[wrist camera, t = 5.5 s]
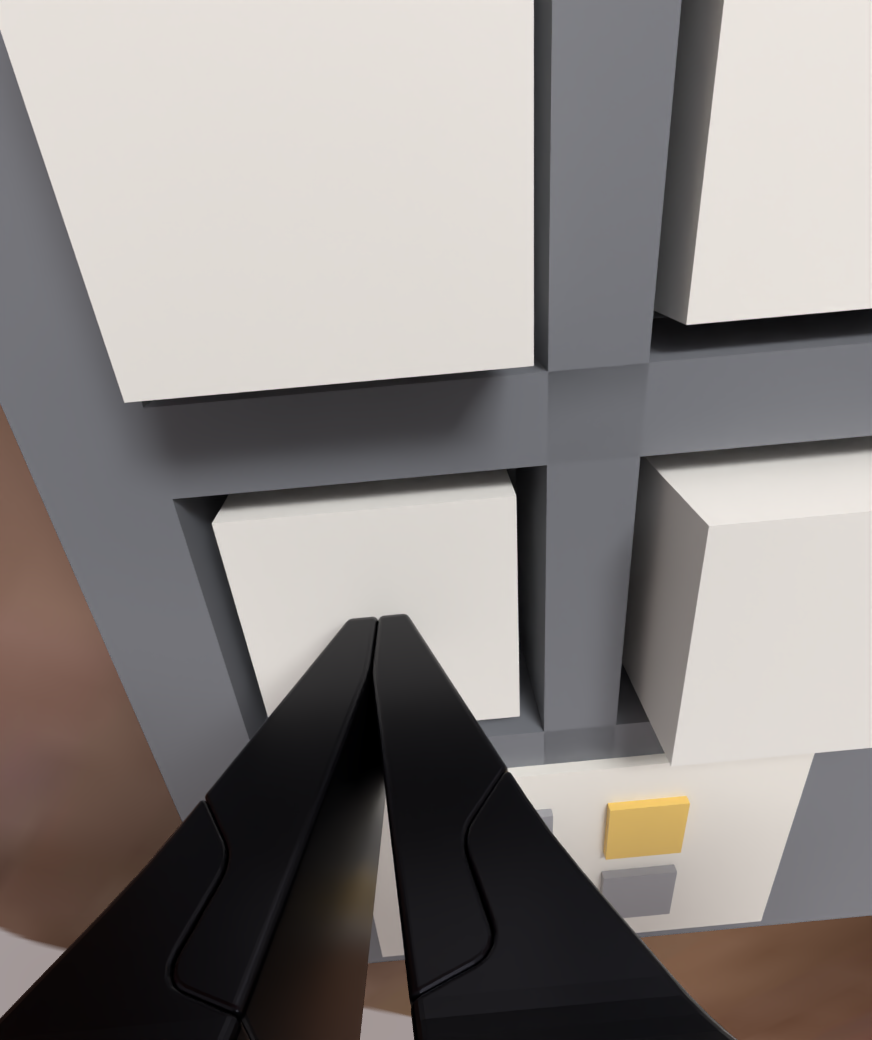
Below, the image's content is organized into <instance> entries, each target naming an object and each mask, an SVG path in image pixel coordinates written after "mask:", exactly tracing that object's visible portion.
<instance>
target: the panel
mask: <svg viewBox="0 0 872 1040" xmlns="http://www.w3.org/2000/svg"><path fill="white" fill-rule="evenodd" d="M681 2H682V0H534V366H528V367H517V368H506V369H494V370H483V371H472V372H461V373H450V374H439V375H428V376H417V377H405V378H394V379H383V380H372V381H361V382H350V383H339V384H327V385H316V386H305V387H294V388H283V389H272V390H261V391H250V392H238V393H227V394H216V395H205V396H194V397H183V398H172V399H161V400H149V401H138V402H127V403H124V400H123V397H122V394H121V391H120V388H119V385H118V382H117V379H116V376H115V373H114V370H113V367H112V364H111V361H110V358H109V355H108V352H107V349H106V346H105V343H104V340H103V337H102V334H101V331H100V328H99V325H98V322H97V319H96V316H95V313H94V310H93V307H92V304H91V301H90V298H89V295H88V292H87V289H86V286H85V283H84V280H83V277H82V274H81V271H80V268H79V265H78V262H77V259H76V256H75V253H74V250H73V247H72V244H71V241H70V238H69V235H68V232H67V229H66V226H65V223H64V220H63V217H62V214H61V211H60V208H59V205H58V202H57V199H56V196H55V193H54V190H53V187H52V184H51V181H50V178H49V175H48V172H47V169H46V166H45V163H44V160H43V157H42V154H41V151H40V148H39V145H38V142H37V139H36V136H35V133H34V130H33V127H32V124H31V121H30V118H29V115H28V112H27V109H26V106H25V103H24V100H23V97H22V94H21V91H20V88H19V85H18V82H17V79H16V76H15V73H14V70H13V67H12V64H11V61H10V58H9V55H8V52H7V49H6V46H5V43H4V40H3V37H2V34H1V31H0V404H1V406H2V408H3V411H4V413H5V415H6V418H7V420H8V422H9V424H10V427H11V429H12V431H13V434H14V436H15V438H16V441H17V443H18V445H19V447H20V450H21V452H22V454H23V457H24V459H25V461H26V464H27V466H28V468H29V470H30V473H31V475H32V477H33V480H34V482H35V484H36V487H37V489H38V491H39V493H40V496H41V498H42V500H43V503H44V505H45V507H46V510H47V512H48V514H49V516H50V519H51V521H52V523H53V526H54V528H55V530H56V533H57V535H58V537H59V539H60V542H61V544H62V546H63V549H64V551H65V553H66V556H67V558H68V560H69V562H70V565H71V567H72V569H73V572H74V574H75V576H76V579H77V581H78V583H79V585H80V588H81V590H82V592H83V595H84V597H85V599H86V602H87V604H88V606H89V608H90V611H91V613H92V615H93V618H94V620H95V622H96V625H97V627H98V629H99V631H100V634H101V636H102V638H103V641H104V643H105V645H106V648H107V650H108V652H109V654H110V657H111V659H112V661H113V664H114V666H115V668H116V671H117V673H118V675H119V677H120V680H121V682H122V684H123V687H124V689H125V691H126V694H127V696H128V698H129V700H130V703H131V705H132V707H133V710H134V712H135V714H136V717H137V719H138V721H139V723H140V726H141V728H142V730H143V733H144V735H145V737H146V740H147V742H148V744H149V746H150V749H151V751H152V753H153V756H154V758H155V760H156V763H157V765H158V767H159V769H160V772H161V774H162V776H163V779H164V781H165V783H166V786H167V788H168V790H169V792H170V795H171V797H172V799H173V802H174V804H175V806H176V809H177V811H178V813H179V815H180V818H181V820H182V822H183V821H184V820H185V819H186V818H187V816H188V815H189V814H190V813H191V811H192V810H193V809H194V808H195V806H196V805H197V804H198V803H199V802H200V801H201V800H205V795H206V793H207V792H208V791H209V790H210V788H211V787H212V786H213V785H214V784H215V782H216V781H217V780H218V779H219V777H220V776H221V775H222V774H223V773H224V771H225V770H226V769H227V768H228V766H229V765H230V764H231V763H232V761H233V760H234V759H235V758H236V757H237V755H238V754H239V753H240V752H241V750H242V749H243V748H244V747H245V745H246V744H247V743H248V742H249V741H250V739H251V738H252V737H253V736H254V734H255V733H256V732H257V731H258V730H259V728H260V727H261V726H262V725H263V723H264V722H265V721H266V720H267V718H268V715H267V712H266V708H265V705H264V702H263V698H262V695H261V691H260V688H259V684H258V681H257V677H256V674H255V671H254V667H253V664H252V660H251V657H250V653H249V650H248V647H247V643H246V640H245V636H244V633H243V629H242V626H241V623H240V619H239V616H238V612H237V609H236V605H235V602H234V598H233V595H232V592H231V588H230V585H229V581H228V578H227V574H226V571H225V568H224V564H223V561H222V557H221V554H220V550H219V547H218V544H217V540H216V537H215V533H214V530H213V526H212V522H213V521H214V519H215V517H216V516H217V514H218V512H219V510H220V509H221V507H222V505H223V504H224V502H225V500H226V499H227V497H228V495H229V494H235V493H246V492H257V491H268V490H279V489H290V488H301V487H312V486H323V485H334V484H345V483H356V482H367V481H378V480H389V479H400V478H411V477H422V476H433V475H444V474H455V473H466V472H477V471H488V470H499V469H506V470H507V473H508V475H509V478H510V481H511V483H512V486H513V488H514V491H515V494H516V507H517V571H518V635H519V699H520V716H519V717H508V718H497V719H486V720H477V722H478V723H479V725H480V726H481V728H482V729H483V731H484V733H485V734H486V736H487V737H488V739H489V740H490V742H491V743H492V745H493V746H494V748H495V749H496V751H497V753H498V754H499V756H500V757H501V759H502V760H503V762H504V763H505V765H506V766H507V769H508V772H510V773H511V774H512V775H513V777H514V778H515V780H516V781H517V783H518V784H519V786H520V787H521V789H522V790H523V792H524V794H525V795H526V797H527V798H528V799H529V801H530V802H531V804H532V805H533V807H534V808H535V809H536V811H537V812H538V814H539V815H540V817H541V818H542V819H543V821H544V822H545V824H546V825H547V826H548V828H549V829H550V831H551V832H552V833H553V835H554V836H555V837H556V838H557V840H558V841H559V842H560V843H561V844H562V846H563V847H564V848H565V849H566V851H567V852H568V853H569V854H570V856H571V857H572V858H573V859H574V861H575V862H576V863H577V864H578V866H579V867H580V868H581V869H582V871H583V872H584V873H585V874H586V875H587V876H588V878H589V879H590V880H591V881H592V882H593V883H594V885H595V886H596V887H597V888H598V889H599V891H600V892H601V893H602V894H603V895H604V896H605V898H606V899H607V900H608V901H609V902H610V903H611V905H612V906H613V907H614V908H615V909H616V910H617V912H618V913H619V914H620V915H621V916H622V917H623V919H624V920H625V921H626V922H627V923H628V924H629V926H630V927H631V928H632V929H633V930H634V931H635V933H636V934H637V935H638V936H639V937H649V936H660V935H670V934H681V933H691V932H702V931H712V930H723V929H734V928H744V927H755V926H765V925H776V924H786V923H797V922H807V921H818V920H828V919H839V918H849V917H860V916H870V915H872V748H864V749H853V750H843V751H832V752H821V753H811V754H800V755H789V756H778V757H768V758H757V759H746V760H736V761H725V762H714V763H704V764H693V765H682V766H672V767H671V765H670V763H669V761H668V759H667V757H666V755H665V753H664V751H663V748H662V746H661V744H660V742H659V740H658V738H657V736H656V734H655V732H654V729H653V727H652V725H651V723H650V721H649V719H648V717H647V715H646V712H645V710H644V708H643V706H642V704H641V702H640V700H639V698H638V695H637V693H636V691H635V689H634V687H633V685H632V683H631V681H630V678H629V676H628V674H627V672H626V670H625V668H624V666H623V664H622V654H623V643H624V631H625V620H626V609H627V598H628V587H629V576H630V565H631V554H632V543H633V532H634V521H635V510H636V499H637V488H638V477H639V466H640V457H642V456H653V455H664V454H675V453H686V452H697V451H708V450H719V449H730V448H741V447H752V446H763V445H774V444H785V443H796V442H808V441H819V440H830V439H841V438H852V437H863V436H872V308H870V309H858V310H847V311H836V312H825V313H814V314H803V315H791V316H780V317H769V318H758V319H747V320H736V321H725V322H713V323H702V324H691V325H685V324H683V323H681V322H679V321H676V320H674V319H672V318H670V317H667V316H665V315H663V314H661V313H658V312H656V311H654V300H655V289H656V278H657V267H658V256H659V245H660V234H661V223H662V212H663V201H664V190H665V179H666V167H667V156H668V145H669V134H670V123H671V112H672V101H673V90H674V79H675V68H676V57H677V46H678V35H679V24H680V13H681ZM205 801H206V800H205ZM397 960H405V956H404V948H403V939H402V931H401V922H400V914H399V905H398V897H397V888H396V880H395V871H394V863H393V854H392V846H391V837H390V829H389V820H388V812H387V804H386V799H385V808H384V817H383V827H382V836H381V846H380V855H379V864H378V874H377V883H376V892H375V902H374V911H373V921H372V930H371V939H370V949H369V958H368V963H376V962H386V961H397Z"/></svg>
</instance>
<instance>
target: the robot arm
mask: <svg viewBox="0 0 872 1040" xmlns="http://www.w3.org/2000/svg"><path fill="white" fill-rule="evenodd" d="M385 799H386V804H387V812H388V820H389V829H390V837H391V846H392V854H393V863H394V871H395V880H396V888H397V897H398V905H399V914H400V922H401V931H402V939H403V948H404V956H405V965H406V973H407V981H408V990H409V998H410V1004H411V1015H412V1024H413V1032H414V1040H737V1039H736V1038H735V1037H733V1036H732V1035H731V1034H730V1033H728V1032H727V1031H726V1030H725V1029H724V1028H723V1027H722V1026H720V1025H719V1024H718V1023H717V1022H716V1021H715V1020H714V1019H713V1018H712V1017H711V1016H710V1015H709V1014H708V1013H707V1012H706V1011H705V1010H704V1009H703V1008H702V1007H701V1006H700V1005H699V1004H698V1003H697V1002H696V1001H695V1000H694V999H693V998H692V997H691V996H690V995H689V994H688V993H687V992H686V991H685V989H684V988H683V987H682V986H681V985H680V984H679V983H678V982H677V980H676V979H675V978H674V977H673V976H672V975H671V974H670V972H669V971H668V970H667V969H666V968H665V967H664V965H663V964H662V963H661V962H660V961H659V960H658V958H657V957H656V956H655V955H654V954H653V953H652V951H651V950H650V949H649V948H648V947H647V946H646V944H645V943H644V942H643V941H642V940H641V939H640V937H639V936H638V935H637V934H636V933H635V931H634V930H633V929H632V928H631V927H630V926H629V924H628V923H627V922H626V921H625V920H624V919H623V917H622V916H621V915H620V914H619V913H618V912H617V910H616V909H615V908H614V907H613V906H612V905H611V903H610V902H609V901H608V900H607V899H606V898H605V896H604V895H603V894H602V893H601V892H600V891H599V889H598V888H597V887H596V886H595V885H594V883H593V882H592V881H591V880H590V879H589V878H588V876H587V875H586V874H585V873H584V872H583V871H582V869H581V868H580V867H579V866H578V864H577V863H576V862H575V861H574V859H573V858H572V857H571V856H570V854H569V853H568V852H567V851H566V849H565V848H564V847H563V846H562V844H561V843H560V842H559V841H558V840H557V838H556V837H555V836H554V835H553V833H552V832H551V831H550V829H549V828H548V826H547V825H546V824H545V822H544V821H543V819H542V818H541V817H540V815H539V814H538V812H537V811H536V809H535V808H534V807H533V805H532V804H531V802H530V801H529V799H528V798H527V797H526V795H525V794H524V792H523V790H522V789H521V787H520V786H519V784H518V783H517V781H516V780H515V778H514V777H513V775H512V774H511V773H510V772H508V769H507V766H506V765H505V763H504V762H503V760H502V759H501V757H500V756H499V754H498V753H497V751H496V749H495V748H494V746H493V745H492V743H491V742H490V740H489V739H488V737H487V736H486V734H485V733H484V731H483V729H482V728H481V726H480V725H479V723H478V722H477V720H476V719H475V717H474V716H473V714H472V713H471V711H470V709H469V708H468V706H467V705H466V703H465V702H464V700H463V699H462V697H461V696H460V694H459V692H458V691H457V689H456V688H455V686H454V685H453V683H452V682H451V680H450V679H449V677H448V676H447V674H446V672H445V671H444V669H443V668H442V666H441V665H440V663H439V662H438V660H437V659H436V657H435V656H434V654H433V652H432V651H431V649H430V648H429V646H428V645H427V643H426V642H425V640H424V639H423V637H422V636H421V634H420V632H419V631H418V629H417V628H416V626H415V625H414V623H413V622H412V620H411V619H410V617H409V616H408V615H407V614H394V615H384V616H381V617H380V618H379V620H378V619H377V618H376V617H362V618H352V619H349V620H348V621H347V622H346V623H345V624H344V625H343V626H342V628H341V629H340V630H339V631H338V633H337V634H336V635H335V636H334V637H333V639H332V640H331V641H330V642H329V644H328V645H327V646H326V647H325V649H324V650H323V651H322V652H321V653H320V655H319V656H318V657H317V658H316V660H315V661H314V662H313V663H312V664H311V666H310V667H309V668H308V669H307V671H306V672H305V673H304V674H303V676H302V677H301V678H300V679H299V680H298V682H297V683H296V684H295V685H294V687H293V688H292V689H291V690H290V691H289V693H288V694H287V695H286V696H285V698H284V699H283V700H282V701H281V703H280V704H279V705H278V706H277V707H276V709H275V710H274V711H273V712H272V714H271V715H270V716H269V717H268V718H267V720H266V721H265V722H264V723H263V725H262V726H261V727H260V728H259V730H258V731H257V732H256V733H255V734H254V736H253V737H252V738H251V739H250V741H249V742H248V743H247V744H246V745H245V747H244V748H243V749H242V750H241V752H240V753H239V754H238V755H237V757H236V758H235V759H234V760H233V761H232V763H231V764H230V765H229V766H228V768H227V769H226V770H225V771H224V773H223V774H222V775H221V776H220V777H219V779H218V780H217V781H216V782H215V784H214V785H213V786H212V787H211V788H210V790H209V791H208V792H207V793H206V795H205V800H206V801H205V800H201V801H200V802H199V803H198V804H197V805H196V806H195V808H194V809H193V810H192V811H191V813H190V814H189V815H188V816H187V818H186V819H185V820H184V821H183V822H182V824H181V825H180V826H179V827H178V828H177V830H176V831H175V832H174V833H173V834H172V835H171V837H170V838H169V839H168V840H167V841H166V842H165V844H164V845H163V846H162V847H161V848H160V850H159V851H158V852H157V853H156V854H155V855H154V857H153V858H152V859H151V860H150V861H149V862H148V864H147V865H146V866H145V867H144V868H143V869H142V870H141V871H140V872H139V874H138V875H137V876H136V877H135V878H134V879H133V880H132V881H131V882H130V883H129V884H128V885H127V886H126V888H125V889H124V890H123V891H122V892H121V893H120V894H119V895H118V896H117V897H116V898H115V899H114V900H113V902H112V903H111V904H110V905H109V906H108V907H107V908H106V909H105V910H104V911H103V912H102V913H101V914H100V915H99V917H98V918H97V919H96V920H95V921H94V922H93V923H92V924H91V925H90V926H89V927H88V928H87V929H86V930H85V931H84V932H83V933H82V934H81V935H80V936H79V937H78V938H77V939H76V940H75V941H74V942H73V943H72V944H71V946H70V947H69V948H68V949H67V950H66V951H65V952H64V953H63V954H62V955H61V956H60V957H59V958H58V959H57V960H56V961H55V962H54V963H53V964H52V965H51V966H50V967H49V968H48V969H47V970H46V971H45V972H44V973H43V975H42V976H41V977H40V978H39V979H38V980H37V981H36V982H35V983H34V984H33V985H32V986H31V987H30V988H29V989H28V990H27V991H26V992H25V993H24V994H23V995H22V996H21V997H20V998H19V999H18V1000H17V1001H16V1003H14V1005H13V1006H12V1007H11V1008H10V1009H9V1010H8V1011H7V1012H6V1013H5V1014H4V1015H3V1016H2V1017H1V1018H0V1040H360V1033H361V1024H362V1014H363V1005H364V996H365V986H366V977H367V967H368V958H369V949H370V939H371V930H372V921H373V911H374V902H375V892H376V883H377V874H378V864H379V855H380V846H381V836H382V827H383V817H384V808H385Z"/></svg>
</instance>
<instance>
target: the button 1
mask: <svg viewBox="0 0 872 1040" xmlns="http://www.w3.org/2000/svg"><path fill="white" fill-rule="evenodd" d="M0 31H1V34H2V37H3V40H4V43H5V46H6V49H7V52H8V55H9V58H10V61H11V64H12V67H13V70H14V73H15V76H16V79H17V82H18V85H19V88H20V91H21V94H22V97H23V100H24V103H25V106H26V109H27V112H28V115H29V118H30V121H31V124H32V127H33V130H34V133H35V136H36V139H37V142H38V145H39V148H40V151H41V154H42V157H43V160H44V163H45V166H46V169H47V172H48V175H49V178H50V181H51V184H52V187H53V190H54V193H55V196H56V199H57V202H58V205H59V208H60V211H61V214H62V217H63V220H64V223H65V226H66V229H67V232H68V235H69V238H70V241H71V244H72V247H73V250H74V253H75V256H76V259H77V262H78V265H79V268H80V271H81V274H82V277H83V280H84V283H85V286H86V289H87V292H88V295H89V298H90V301H91V304H92V307H93V310H94V313H95V316H96V319H97V322H98V325H99V328H100V331H101V334H102V337H103V340H104V343H105V346H106V349H107V352H108V355H109V358H110V361H111V364H112V367H113V370H114V373H115V376H116V379H117V382H118V385H119V388H120V391H121V394H122V397H123V400H124V403H127V402H138V401H149V400H161V399H172V398H183V397H194V396H205V395H216V394H227V393H238V392H250V391H261V390H272V389H283V388H294V387H305V386H316V385H327V384H339V383H350V382H361V381H372V380H383V379H394V378H405V377H417V376H428V375H439V374H450V373H461V372H472V371H483V370H494V369H506V368H517V367H528V366H534V0H0Z"/></svg>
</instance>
